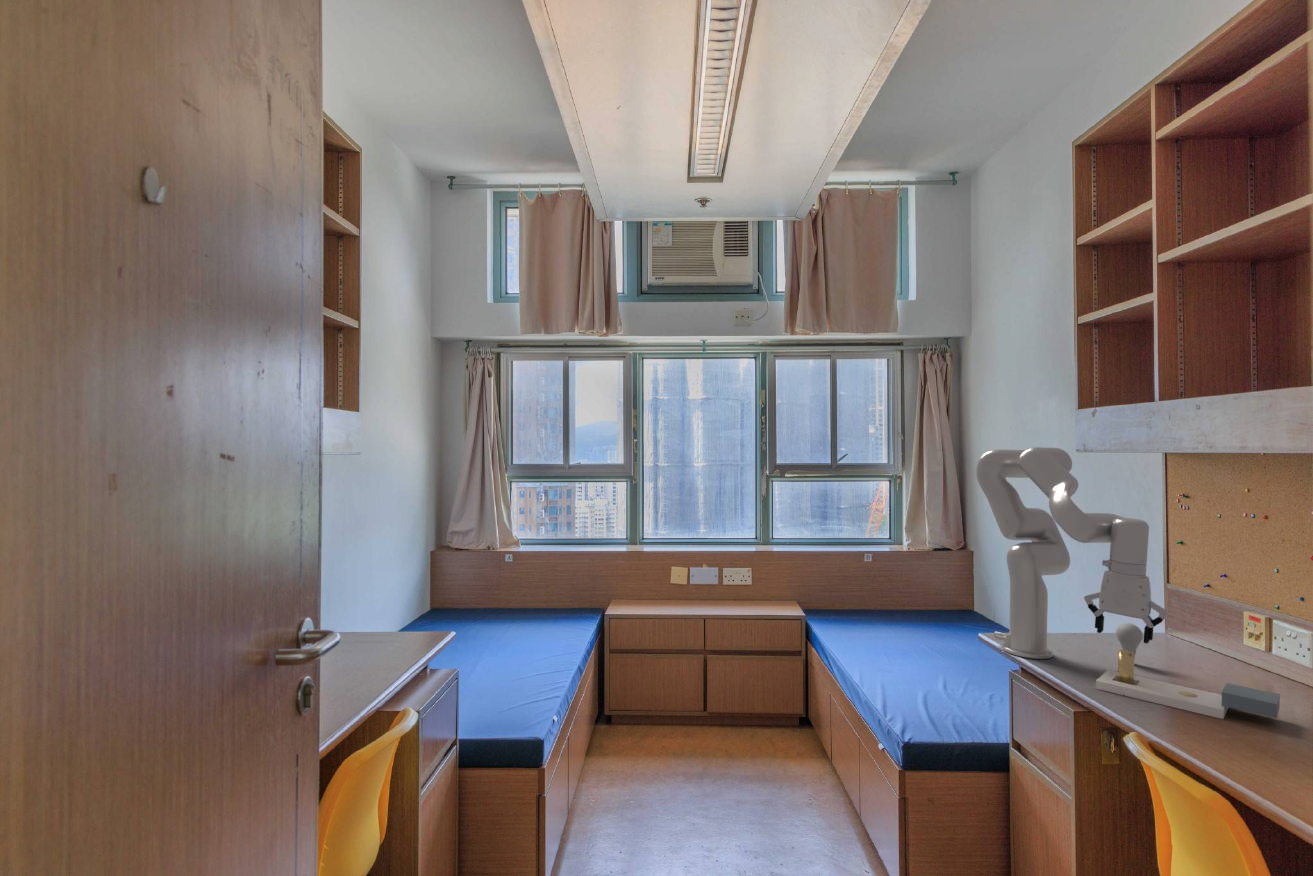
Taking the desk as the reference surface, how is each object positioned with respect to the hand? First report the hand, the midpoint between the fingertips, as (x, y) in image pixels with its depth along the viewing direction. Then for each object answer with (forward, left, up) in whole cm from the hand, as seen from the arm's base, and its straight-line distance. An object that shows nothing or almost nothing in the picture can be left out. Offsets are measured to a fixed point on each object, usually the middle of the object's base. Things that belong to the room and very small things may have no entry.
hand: (1122, 636), depth 166 cm
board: (+8, 0, -12) cm, 15 cm away
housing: (+24, 0, -10) cm, 26 cm away
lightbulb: (-3, +25, -13) cm, 28 cm away
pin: (+1, 0, -12) cm, 12 cm away
